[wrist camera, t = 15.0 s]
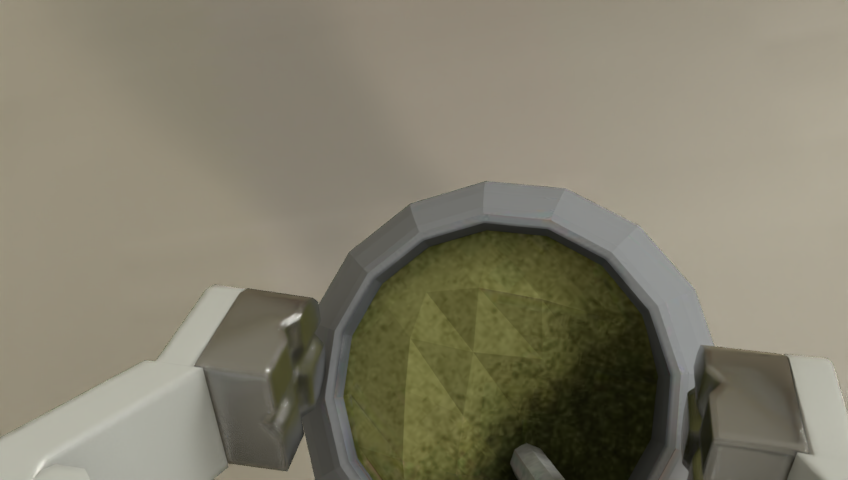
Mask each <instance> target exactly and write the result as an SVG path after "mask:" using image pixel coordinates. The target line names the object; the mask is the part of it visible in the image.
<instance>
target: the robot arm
mask: <svg viewBox="0 0 848 480" xmlns="http://www.w3.org/2000/svg"><path fill="white" fill-rule="evenodd" d="M320 321H321V317H320V311H319V305H318V302H317V301H316V300H315V299H313V298H311V297H304V296H297V295H290V294H283V293H276V292H269V291H263V290H256V289H249V288H247V289H243V288H237V287H230V286H224V285H217V284H214V285H212V286H211V287H209V288H207V289H206V290H205V291H204V292H203V294H202V295H201V297H200V298H199V299H198V301H197V302H196V304H195V305H194V307H193V308H192V309H191V311H190V312H189V314H188V315H187V317H186V318H185V319H184V321H183V322H182V324H181V325H180V327H179V328H178V329H177V331H176V332H175V334H174V335H173V336H172V338H171V339H170V341H169V342H168V344H167V345H166V346H165V348H164V349H163V351H162V352H161V354H160V355H159V356H158V358H157V359H156V361H150V360H144V361H142V362H141V363H139V364H137V365H135V366H133V367H131V368H129V369H127V370H125V371H124V372H122V373H120V374H118V375H116V376H114V377H112V378H110V379H109V380H107V381H105V382H103V383H101V384H99V385H97V386H95V387H94V388H92V389H90V390H88V391H86V392H84V393H82V394H80V395H79V396H77V397H75V398H73V399H71V400H69V401H67V402H65V403H63V404H62V405H60V406H58V407H56V408H54V409H52V410H50V411H48V412H47V413H45V414H43V415H41V416H39V417H37V418H35V419H33V420H32V421H30V422H28V423H26V424H24V425H22V426H20V427H18V428H16V429H15V430H13V431H11V432H9V433H7V434H5V435H3V436H1V437H0V480H213V479H214V478H215V477H217V476H218V475H219V474H220V473H222V472H223V471H224V470H225V469H226V468H228V463H229V464H236V465H244V466H251V467H258V468H266V469H273V470H280V471H288V469H289V466H290V464H291V462H292V460H293V457H294V455H295V453H296V450H297V448H298V446H299V444H300V441H301V439H302V437H303V435H304V430H303V424H302V417H303V416H305V415H306V414H308V413H309V412H311V411H312V410H314V409H315V407H316V404H317V402H318V399H319V397H320V395H321V392H322V387H323V382H324V378H325V373H326V353H325V345H324V343H323V342H322V341H321V340H320V339H319V338H318V336H317V335H316V334H315V332H316V330H317V328H318V326H319V324H320ZM694 381H695V387H694V388H693V389H691V390H690V391H688V393H687V397H686V402H685V407H684V413H683V421H682V430H681V454H682V464H683V465H684V467H685V468H686V469H687V470H688V471H689V473H688V477H687V480H848V412H847V409H846V405H845V402H844V398H843V395H842V392H841V388H840V385H839V382H838V378H837V375H836V371H835V368H834V365H833V363H832V362H831V361H830V360H829V359H828V358H822V357H812V356H802V355H793V354H784V355H782V354H777V353H769V352H760V351H751V350H742V349H734V348H725V347H716V346H707V345H700V348H699V350H698V352H697V355H696V359H695V363H694Z"/></svg>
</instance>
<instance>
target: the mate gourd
mask: <svg viewBox="0 0 848 480" xmlns="http://www.w3.org/2000/svg"><path fill="white" fill-rule="evenodd" d="M319 311H320V317H321V321H320V324H319V326H318V328H317V330H316V332H315V334H316V335H317V336H318V338H319V339H320V340H321V341H322V342H323V343H324V345H325V353H326V373H325V378H324V382H323V387H322V392H321V395H320V397H319V399H318V402H317V404H316V407H315V409H314V410H312V411H311V412H309V413H308V414H306V415H305V416H303V417H302V423H303V427H304V432H305V436H306V441H307V445H308V450H309V454H310V458H311V463H312V467H313V472H314V476H315V480H687V477H688V473H689V471H688V470H687V469H686V468H685V467H684V465H683V464H682V454H681V430H682V421H683V413H684V407H685V402H686V397H687V393H688V391H690V390H691V389H693V388H694V387H695V381H694V363H695V359H696V355H697V352H698V350H699V348H700V345H707V346H714V343H713V341H712V338H711V335H710V332H709V329H708V326H707V323H706V320H705V317H704V314H703V311H702V309H701V306H700V303H699V300H698V297H697V294H696V291H695V289H694V288H693V287H692V285H691V284H690V283H689V282H688V281H687V280H686V279H685V277H684V276H683V275H682V274H681V273H680V272H679V271H678V269H677V268H676V267H675V266H674V265H673V264H672V263H671V261H670V260H669V259H668V258H667V257H666V256H665V255H664V253H663V252H662V251H661V250H660V249H659V248H658V247H657V245H656V244H655V243H654V242H653V241H652V240H651V239H650V237H649V236H648V235H647V234H646V233H645V232H644V231H643V229H642V228H641V227H640V226H639V225H637V224H635V223H633V222H631V221H629V220H627V219H625V218H623V217H621V216H619V215H617V214H615V213H613V212H611V211H609V210H607V209H605V208H603V207H601V206H599V205H597V204H595V203H593V202H592V201H590V200H588V199H586V198H584V197H582V196H580V195H578V194H576V193H574V192H572V191H570V190H568V189H566V188H555V187H544V186H533V185H522V184H511V183H500V182H488V181H485V182H481V183H478V184H475V185H471V186H468V187H465V188H461V189H458V190H455V191H451V192H448V193H444V194H441V195H438V196H434V197H431V198H428V199H424V200H421V201H418V202H414V203H411V204H409V205H408V206H407V207H405V208H404V209H403V210H402V211H400V212H399V213H398V214H397V215H395V216H394V217H393V218H392V219H390V220H389V221H388V222H386V223H385V224H384V225H383V226H381V227H380V228H379V229H378V230H376V231H375V232H374V233H373V234H371V235H370V236H369V237H368V238H366V239H365V240H364V241H362V242H361V243H360V244H359V245H357V246H356V247H355V248H354V249H352V250H351V251H350V252H349V253H348V255H347V257H346V258H345V260H344V262H343V264H342V265H341V267H340V269H339V270H338V272H337V274H336V276H335V277H334V279H333V281H332V282H331V284H330V286H329V288H328V289H327V291H326V293H325V295H324V296H323V298H322V300H321V301H320V303H319Z"/></svg>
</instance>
